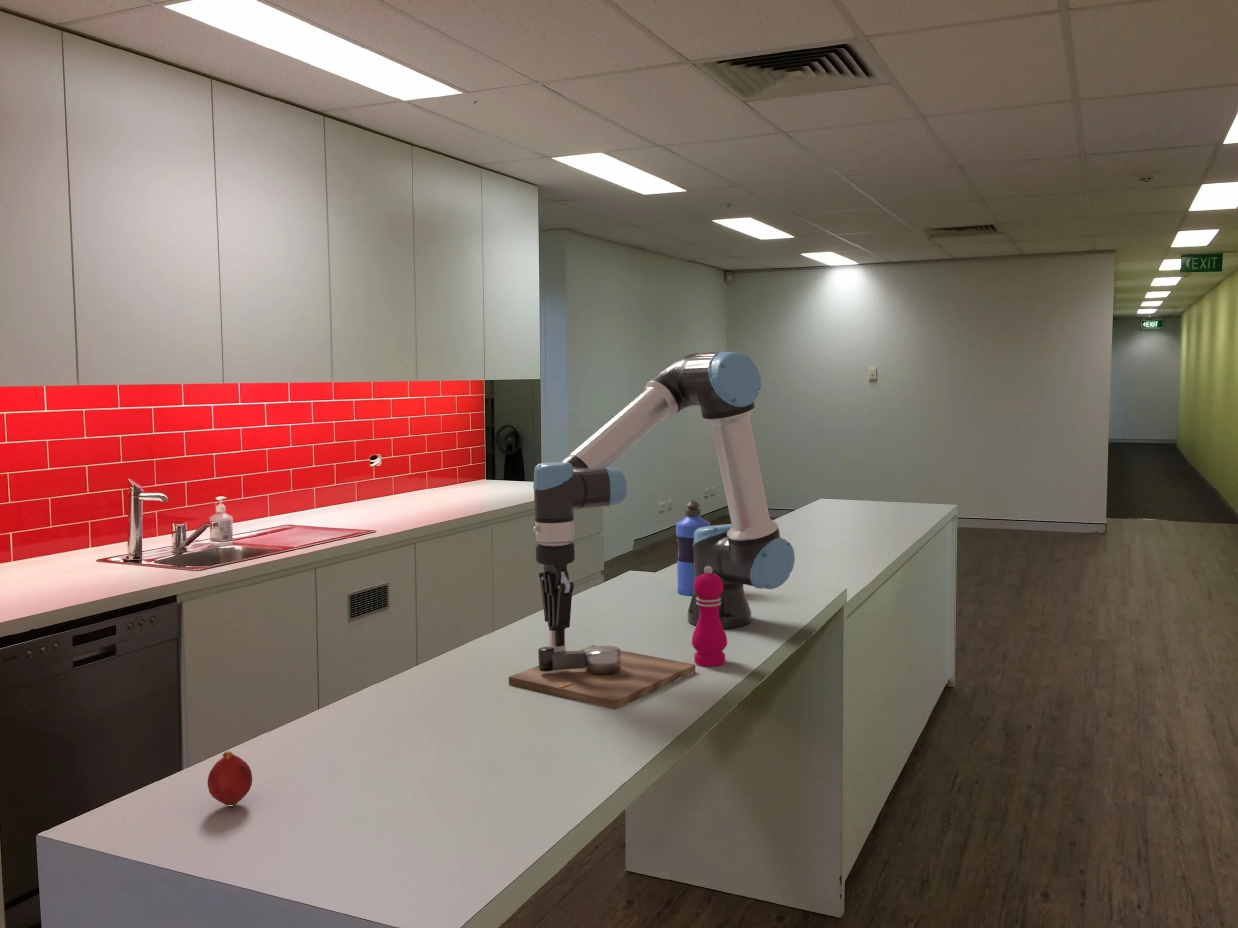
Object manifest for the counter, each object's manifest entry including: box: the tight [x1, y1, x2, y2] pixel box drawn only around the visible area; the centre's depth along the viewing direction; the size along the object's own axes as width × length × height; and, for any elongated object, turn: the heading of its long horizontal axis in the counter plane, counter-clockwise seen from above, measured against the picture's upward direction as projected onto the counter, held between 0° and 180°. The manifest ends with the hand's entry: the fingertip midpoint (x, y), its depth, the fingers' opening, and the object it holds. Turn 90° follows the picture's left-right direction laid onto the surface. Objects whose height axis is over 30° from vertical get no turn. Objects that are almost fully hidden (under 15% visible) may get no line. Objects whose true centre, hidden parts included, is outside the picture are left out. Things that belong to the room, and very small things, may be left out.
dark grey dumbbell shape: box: [537, 645, 622, 673], centre depth 188 cm, size 16×7×4 cm, turn 98°
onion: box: [207, 750, 253, 806], centre depth 135 cm, size 6×6×8 cm
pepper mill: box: [691, 566, 728, 668], centre depth 197 cm, size 7×7×20 cm
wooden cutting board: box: [508, 645, 696, 710], centre depth 189 cm, size 26×26×2 cm
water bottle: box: [675, 500, 711, 597], centre depth 261 cm, size 9×9×25 cm
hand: (557, 660), depth 189 cm, fingers closed
